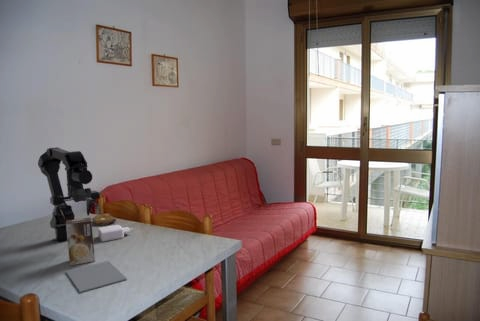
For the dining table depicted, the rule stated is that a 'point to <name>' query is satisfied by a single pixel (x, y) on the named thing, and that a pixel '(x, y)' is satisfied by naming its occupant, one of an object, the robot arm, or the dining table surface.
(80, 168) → the robot arm
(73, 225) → the coffee box
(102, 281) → the mat
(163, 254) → the dining table surface
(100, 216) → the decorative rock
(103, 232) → the charger
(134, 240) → the dining table surface
